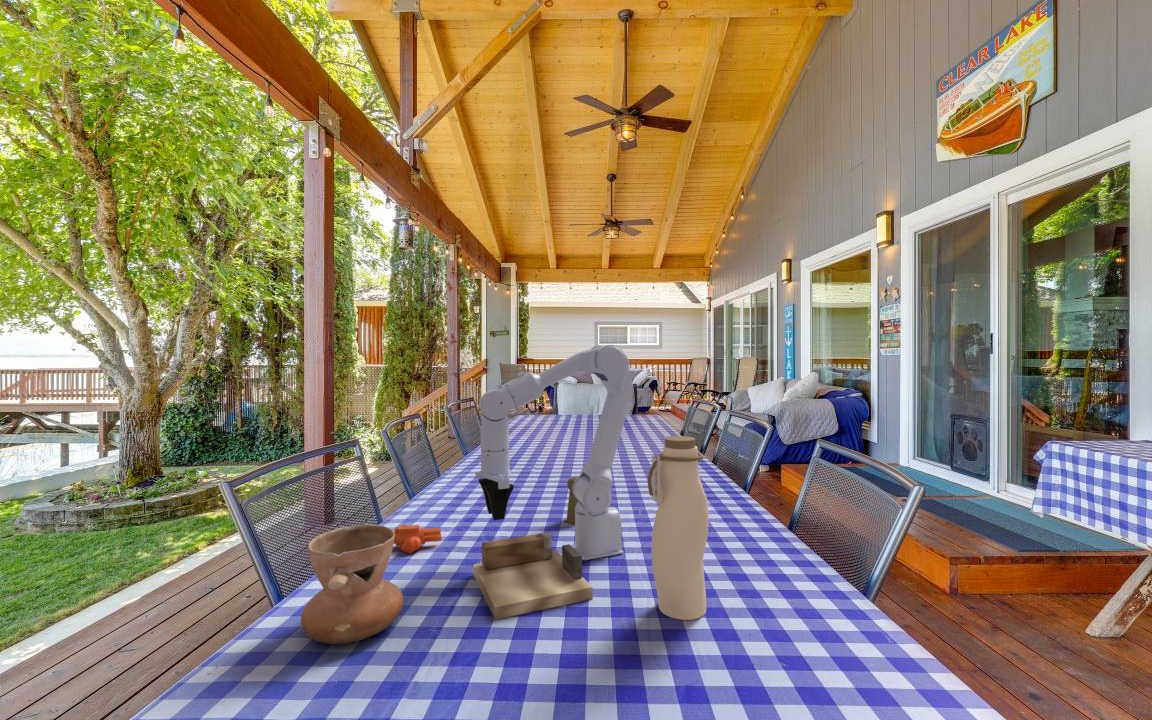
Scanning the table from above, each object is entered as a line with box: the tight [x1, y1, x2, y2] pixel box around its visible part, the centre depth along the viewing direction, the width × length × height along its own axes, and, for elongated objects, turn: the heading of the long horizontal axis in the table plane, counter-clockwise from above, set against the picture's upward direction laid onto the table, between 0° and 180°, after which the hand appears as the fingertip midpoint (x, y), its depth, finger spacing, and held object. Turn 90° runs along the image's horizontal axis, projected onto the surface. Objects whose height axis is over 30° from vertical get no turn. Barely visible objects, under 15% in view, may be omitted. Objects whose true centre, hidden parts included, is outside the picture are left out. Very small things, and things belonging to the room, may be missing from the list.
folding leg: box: [481, 532, 553, 570], centre depth 97 cm, size 14×3×4 cm, turn 112°
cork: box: [565, 476, 579, 525], centre depth 128 cm, size 6×6×11 cm
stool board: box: [472, 544, 594, 621], centre depth 91 cm, size 17×18×6 cm
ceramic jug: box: [300, 523, 404, 645], centre depth 79 cm, size 18×14×14 cm
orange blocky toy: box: [392, 524, 442, 554], centre depth 110 cm, size 5×8×12 cm
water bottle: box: [647, 435, 709, 621], centre depth 82 cm, size 10×9×28 cm
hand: (496, 516), depth 102 cm, fingers open, 4 cm apart
